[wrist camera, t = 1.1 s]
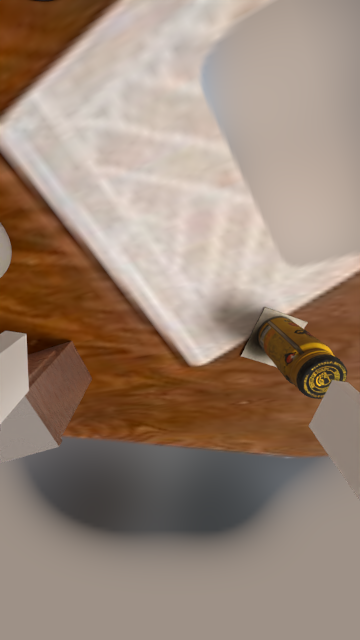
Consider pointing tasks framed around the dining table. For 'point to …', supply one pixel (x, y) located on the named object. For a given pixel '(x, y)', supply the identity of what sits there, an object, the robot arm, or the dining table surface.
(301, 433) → the dining table surface
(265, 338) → the condiment
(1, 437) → the napkin dispenser
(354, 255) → the dining table surface
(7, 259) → the teacup
